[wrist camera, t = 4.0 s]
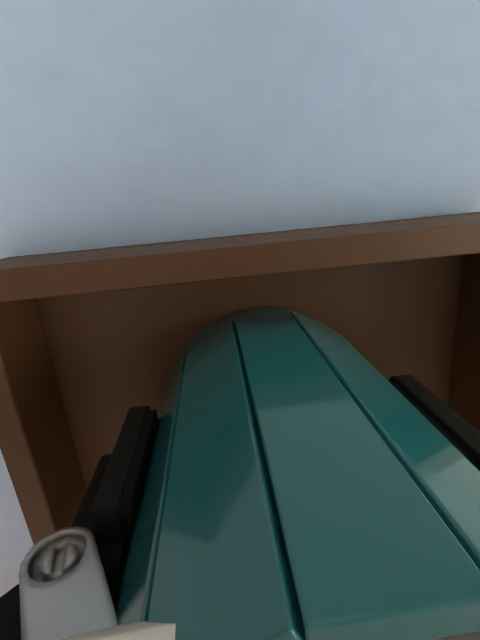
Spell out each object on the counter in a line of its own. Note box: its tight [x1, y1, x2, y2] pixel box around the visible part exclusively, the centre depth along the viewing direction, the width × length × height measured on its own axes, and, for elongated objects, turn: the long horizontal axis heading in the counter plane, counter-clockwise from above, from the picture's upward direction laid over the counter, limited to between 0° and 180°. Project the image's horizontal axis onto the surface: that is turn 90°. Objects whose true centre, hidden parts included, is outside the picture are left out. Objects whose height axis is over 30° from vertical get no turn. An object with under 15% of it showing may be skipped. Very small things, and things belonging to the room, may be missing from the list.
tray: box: [0, 212, 480, 545], centre depth 14 cm, size 24×16×3 cm, turn 5°
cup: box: [115, 307, 480, 640], centre depth 9 cm, size 7×7×10 cm
